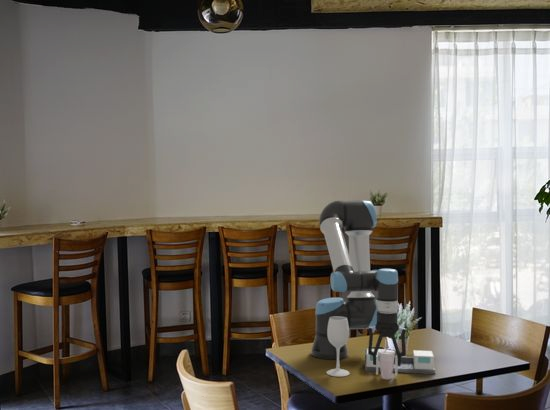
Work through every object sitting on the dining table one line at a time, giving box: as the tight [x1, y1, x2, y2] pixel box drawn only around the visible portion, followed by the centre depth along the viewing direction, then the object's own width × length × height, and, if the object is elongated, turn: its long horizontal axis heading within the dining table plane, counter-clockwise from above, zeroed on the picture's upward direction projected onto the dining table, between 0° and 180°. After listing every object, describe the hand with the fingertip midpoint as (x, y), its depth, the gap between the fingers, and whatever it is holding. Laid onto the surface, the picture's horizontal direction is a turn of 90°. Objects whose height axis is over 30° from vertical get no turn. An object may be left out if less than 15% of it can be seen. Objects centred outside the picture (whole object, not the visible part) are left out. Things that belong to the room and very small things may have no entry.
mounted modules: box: [365, 347, 435, 370], centre depth 244 cm, size 25×8×5 cm, turn 81°
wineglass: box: [326, 316, 350, 378], centre depth 238 cm, size 9×9×21 cm
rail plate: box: [364, 354, 436, 375], centre depth 245 cm, size 26×10×4 cm, turn 81°
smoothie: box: [378, 339, 397, 380], centre depth 233 cm, size 6×6×14 cm
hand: (386, 373), depth 233 cm, fingers closed on smoothie, 6 cm apart
